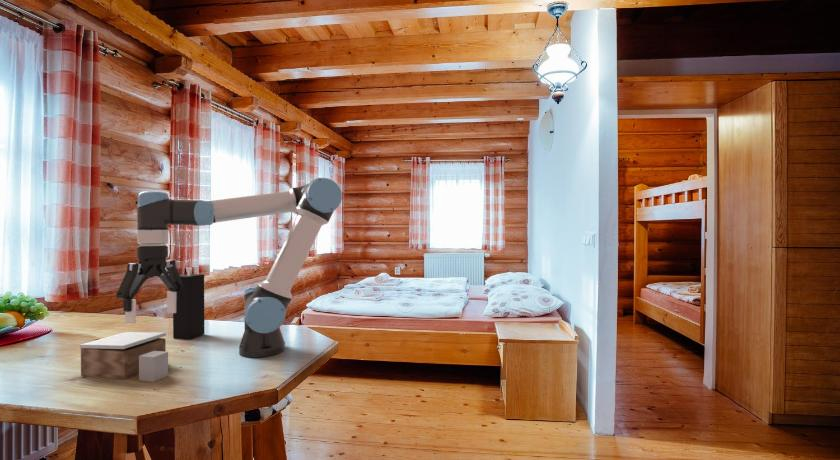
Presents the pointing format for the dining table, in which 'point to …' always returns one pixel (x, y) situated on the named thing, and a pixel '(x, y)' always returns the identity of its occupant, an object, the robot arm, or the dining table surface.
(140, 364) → the stone block
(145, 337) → the lid
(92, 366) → the box
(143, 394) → the dining table surface
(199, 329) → the tall black column
